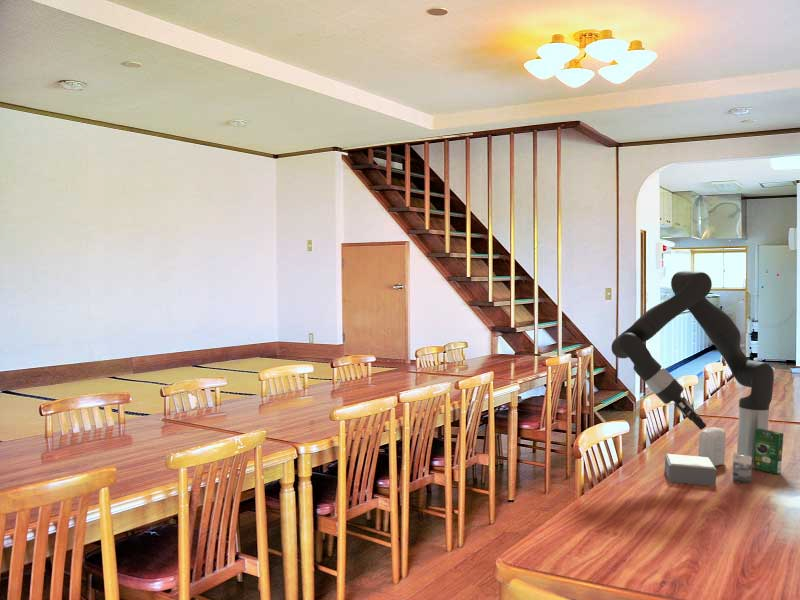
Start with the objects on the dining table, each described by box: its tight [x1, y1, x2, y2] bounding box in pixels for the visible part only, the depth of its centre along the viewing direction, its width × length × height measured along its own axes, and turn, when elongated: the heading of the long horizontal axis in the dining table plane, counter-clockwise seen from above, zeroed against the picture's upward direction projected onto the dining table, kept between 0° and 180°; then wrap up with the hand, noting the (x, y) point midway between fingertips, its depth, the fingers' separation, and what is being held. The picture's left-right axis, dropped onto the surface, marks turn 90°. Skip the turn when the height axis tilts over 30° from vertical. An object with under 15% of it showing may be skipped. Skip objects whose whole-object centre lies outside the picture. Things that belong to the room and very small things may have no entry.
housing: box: [732, 452, 753, 484], centre depth 212 cm, size 5×5×8 cm
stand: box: [664, 453, 717, 487], centre depth 214 cm, size 13×13×6 cm
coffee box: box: [752, 428, 784, 475], centre depth 223 cm, size 8×3×13 cm, turn 33°
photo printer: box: [698, 426, 727, 467], centre depth 230 cm, size 10×4×12 cm, turn 123°
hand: (701, 425), depth 214 cm, fingers open, 8 cm apart
